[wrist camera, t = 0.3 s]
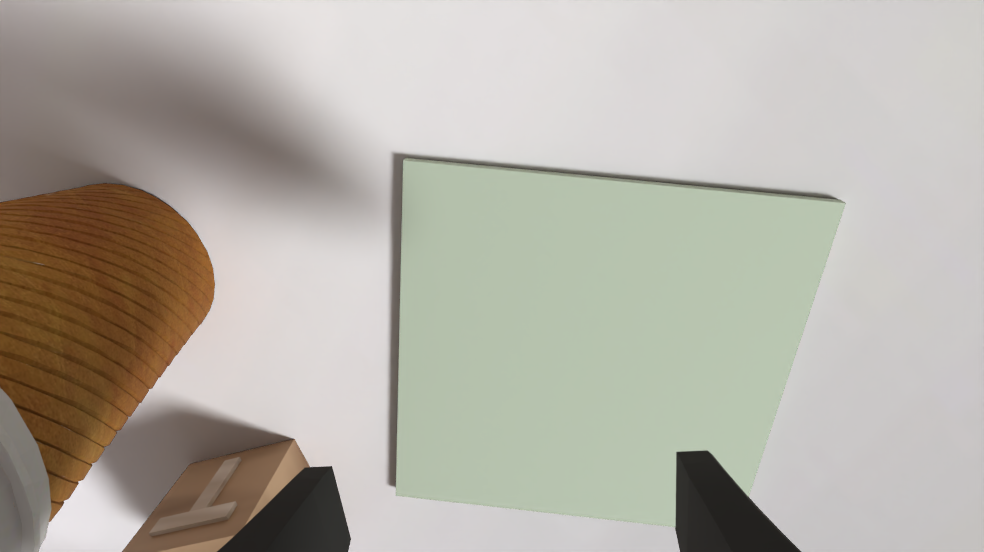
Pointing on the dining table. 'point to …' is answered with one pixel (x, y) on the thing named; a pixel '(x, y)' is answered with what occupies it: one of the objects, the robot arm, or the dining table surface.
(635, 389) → the mat
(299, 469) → the letter cube
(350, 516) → the dining table surface
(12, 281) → the disposable coffee cup
